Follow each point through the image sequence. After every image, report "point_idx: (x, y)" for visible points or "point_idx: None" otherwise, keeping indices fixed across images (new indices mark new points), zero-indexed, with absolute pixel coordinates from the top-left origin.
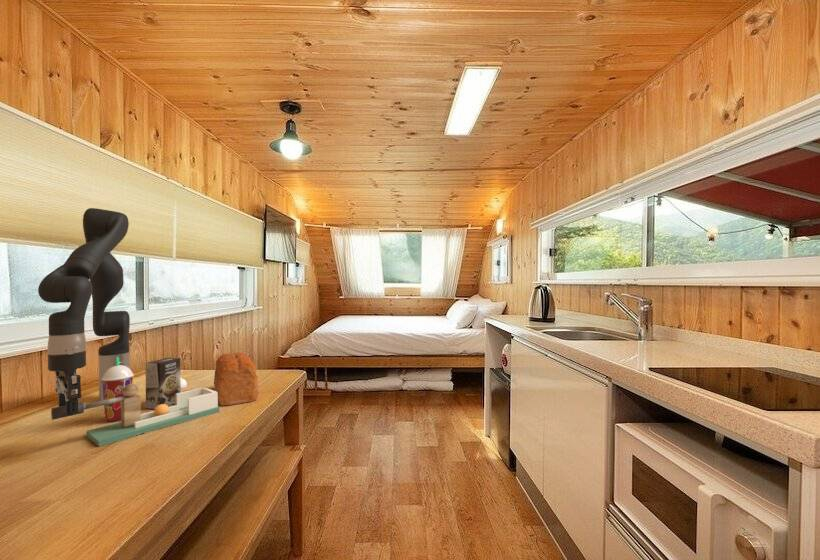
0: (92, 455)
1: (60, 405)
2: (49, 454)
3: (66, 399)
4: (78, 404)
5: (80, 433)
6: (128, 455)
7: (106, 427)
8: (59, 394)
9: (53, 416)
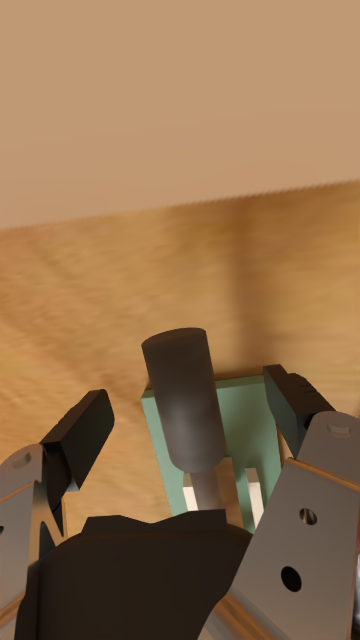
0: (94, 375)
1: (268, 379)
2: (176, 296)
3: (13, 458)
4: (174, 452)
5: (310, 362)
6: (45, 427)
7: (255, 424)
8: (310, 426)
9: (151, 339)
